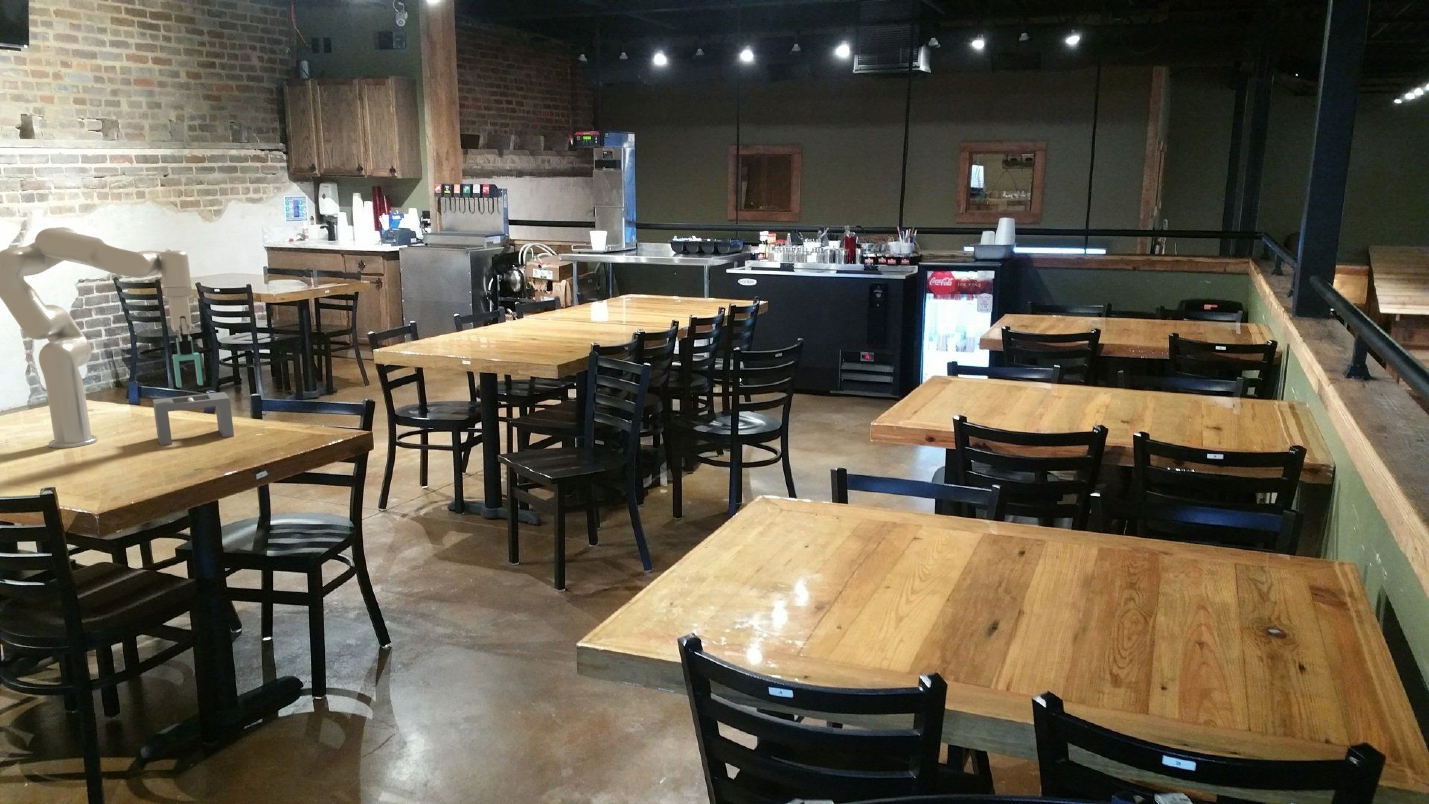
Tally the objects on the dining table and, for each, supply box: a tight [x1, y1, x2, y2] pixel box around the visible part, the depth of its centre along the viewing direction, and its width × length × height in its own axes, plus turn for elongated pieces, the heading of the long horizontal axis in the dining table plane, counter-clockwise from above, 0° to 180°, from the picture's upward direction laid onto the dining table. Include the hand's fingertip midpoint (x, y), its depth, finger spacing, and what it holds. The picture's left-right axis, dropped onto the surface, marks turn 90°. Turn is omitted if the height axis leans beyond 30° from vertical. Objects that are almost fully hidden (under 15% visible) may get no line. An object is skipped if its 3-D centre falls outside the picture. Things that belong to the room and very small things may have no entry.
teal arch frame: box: [172, 336, 204, 388], centre depth 310 cm, size 4×7×14 cm, turn 122°
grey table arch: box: [152, 391, 235, 446], centre depth 314 cm, size 12×20×12 cm, turn 122°
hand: (185, 352), depth 310 cm, fingers closed on teal arch frame, 3 cm apart
